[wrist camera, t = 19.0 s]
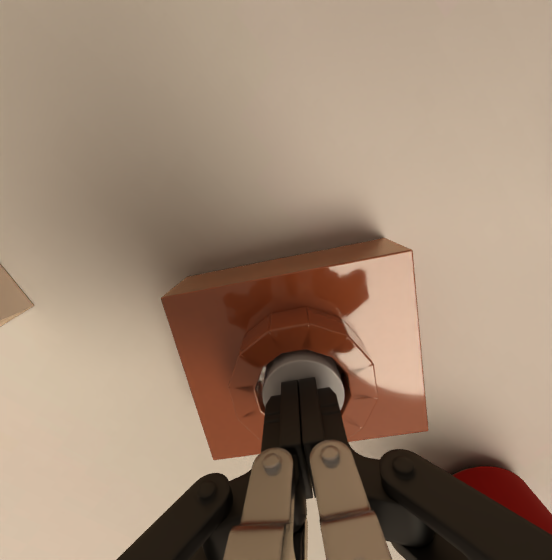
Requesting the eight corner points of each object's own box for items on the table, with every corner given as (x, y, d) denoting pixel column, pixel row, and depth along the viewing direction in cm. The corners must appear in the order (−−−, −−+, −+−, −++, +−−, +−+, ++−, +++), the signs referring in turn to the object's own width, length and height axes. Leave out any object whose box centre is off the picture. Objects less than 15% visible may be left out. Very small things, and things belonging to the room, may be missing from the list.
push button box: (385, 237, 17) (433, 258, 12) (401, 385, 20) (448, 463, 14) (186, 276, 18) (140, 313, 13) (226, 412, 21) (203, 494, 15)
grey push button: (331, 332, 14) (338, 354, 12) (342, 395, 15) (350, 425, 13) (258, 344, 15) (253, 367, 13) (273, 405, 16) (271, 436, 14)
